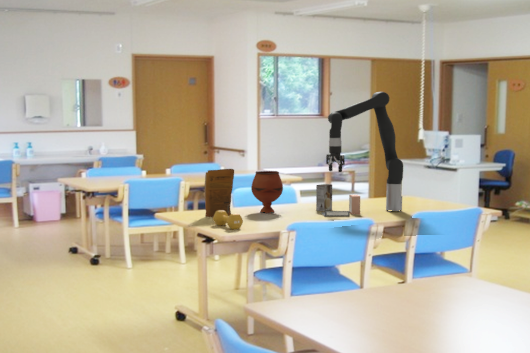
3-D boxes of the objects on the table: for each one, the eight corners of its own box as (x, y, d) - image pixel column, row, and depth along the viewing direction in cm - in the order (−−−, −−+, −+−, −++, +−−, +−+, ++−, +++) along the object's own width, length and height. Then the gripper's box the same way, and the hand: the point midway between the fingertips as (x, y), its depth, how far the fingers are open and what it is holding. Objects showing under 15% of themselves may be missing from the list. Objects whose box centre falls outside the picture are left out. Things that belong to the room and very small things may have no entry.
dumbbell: (211, 225, 403) (211, 210, 402) (225, 224, 408) (226, 209, 407) (229, 230, 387) (229, 215, 386) (244, 229, 392) (244, 213, 391)
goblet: (245, 212, 451) (245, 171, 448) (263, 209, 466) (264, 169, 463) (270, 215, 439) (270, 173, 437) (288, 211, 455) (289, 171, 452)
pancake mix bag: (236, 216, 436) (236, 168, 433) (205, 218, 428) (205, 169, 425) (231, 214, 442) (232, 168, 439) (201, 216, 434) (201, 168, 431)
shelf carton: (356, 212, 455) (357, 194, 454) (359, 214, 448) (360, 196, 446) (348, 212, 455) (349, 194, 454) (351, 214, 447) (351, 196, 446)
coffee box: (323, 208, 470) (324, 183, 468) (332, 209, 466) (332, 184, 465) (315, 210, 463) (316, 184, 461) (324, 211, 459) (324, 185, 457)
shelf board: (345, 213, 451) (345, 208, 451) (349, 216, 439) (349, 211, 439) (321, 213, 450) (321, 208, 449) (324, 216, 437) (324, 211, 437)
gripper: (347, 145, 448) (347, 172, 450) (332, 144, 459) (332, 170, 461) (338, 146, 443) (338, 172, 445) (322, 145, 455) (323, 171, 456)
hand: (335, 171), depth 453 cm, fingers open, 8 cm apart
